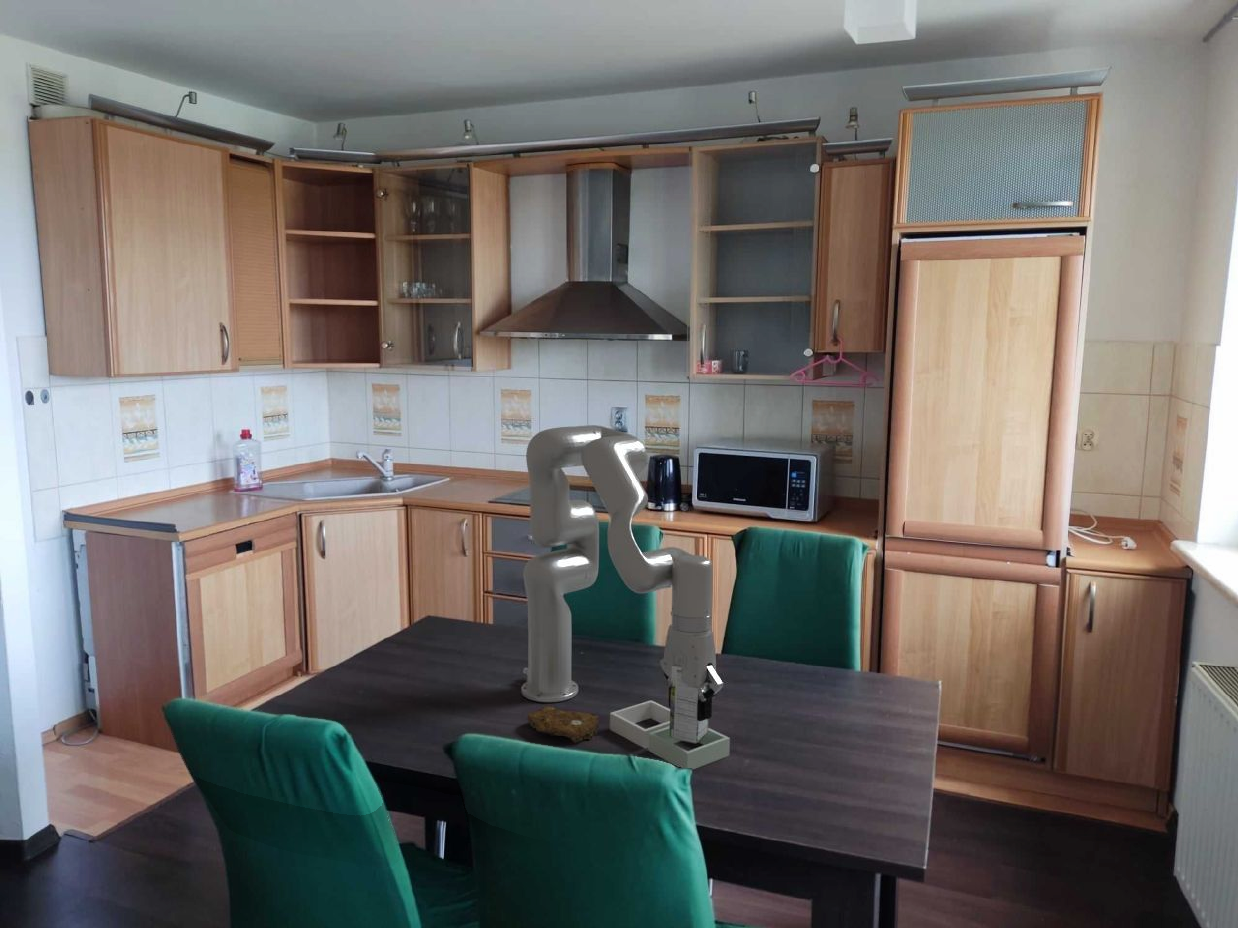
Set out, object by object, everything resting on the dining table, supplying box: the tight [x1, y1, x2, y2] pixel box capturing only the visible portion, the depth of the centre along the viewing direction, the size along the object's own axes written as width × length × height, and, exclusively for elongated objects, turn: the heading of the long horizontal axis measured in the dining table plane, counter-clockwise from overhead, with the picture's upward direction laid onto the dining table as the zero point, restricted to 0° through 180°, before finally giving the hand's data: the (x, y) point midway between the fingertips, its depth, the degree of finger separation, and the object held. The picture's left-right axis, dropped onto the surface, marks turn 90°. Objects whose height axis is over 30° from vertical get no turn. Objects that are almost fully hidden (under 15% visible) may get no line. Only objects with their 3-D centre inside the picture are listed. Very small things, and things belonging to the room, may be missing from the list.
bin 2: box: [648, 726, 731, 770], centre depth 175 cm, size 11×11×4 cm
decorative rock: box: [525, 706, 600, 744], centre depth 184 cm, size 11×4×15 cm
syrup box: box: [669, 665, 710, 744], centre depth 174 cm, size 6×6×14 cm
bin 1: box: [609, 699, 670, 749], centre depth 184 cm, size 11×11×4 cm
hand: (689, 711), depth 174 cm, fingers closed on syrup box, 7 cm apart
